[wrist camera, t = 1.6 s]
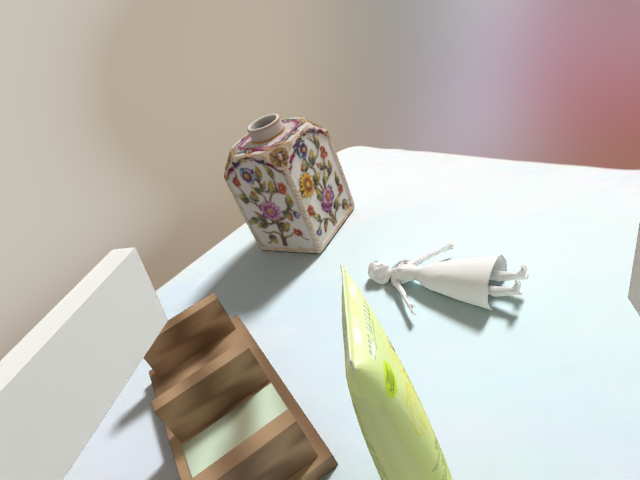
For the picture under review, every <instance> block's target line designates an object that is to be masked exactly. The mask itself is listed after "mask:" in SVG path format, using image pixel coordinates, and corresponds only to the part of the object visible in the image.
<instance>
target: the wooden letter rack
mask: <svg viewBox="0 0 640 480" xmlns="http://www.w3.org/2000/svg"><path fill="white" fill-rule="evenodd" d="M144 359H145V360H146V361H147V363H148V364H149V365H150V366H151V368H152V370H150V371H149V375H150V378H151V381H152V385H153V388H154V392H155V395H156V398H155V399H154V400H152V401H151V403H152V407H153V410H154V412H155V414H156V415H157V416H158V417H159V418H160V419H161V420H162V422H163V423H164V425H165V429H166V432H167V435H168V439H169V442H170V445H171V449H172V452H173V455H174V459H175V462H176V466H177V469H178V472H179V476H180V479H181V480H319V479H320V478H322V477H323V476H324V475H326V474H327V473H328V472H329V471H331V470H332V469H333V468H334V467H336V466H337V465H338V463H337V462H336V460H335V458H334V457H333V455H332V453H331V452H330V450H329V449H328V448H327V446H326V445H325V443H324V442H323V440H322V439H321V437H320V436H319V434H318V433H317V431H316V430H315V428H314V427H313V425H312V424H311V423H310V421H309V420H308V418H307V417H306V415H305V414H304V412H303V411H302V409H301V408H300V406H299V405H298V403H297V402H296V400H295V399H294V398H293V396H292V395H291V393H290V392H289V390H288V389H287V387H286V386H285V384H284V383H283V381H282V380H281V378H280V377H279V375H278V374H277V373H276V371H275V370H274V368H273V367H272V365H271V364H270V362H269V361H268V359H267V358H266V356H265V355H264V353H263V352H262V350H261V349H260V348H259V346H258V345H257V343H256V342H255V340H254V339H253V337H252V336H251V334H250V333H249V331H248V330H247V328H246V327H245V325H244V324H243V323H242V321H241V320H240V318H239V317H238V315H236V316H234V317H233V318H231V319H230V318H229V316H228V315H227V313H226V311H225V310H224V308H223V307H222V305H221V303H220V302H219V300H218V299H217V297H216V296H215V294H214V292H213V293H212V294H210V295H209V296H207V297H205V298H204V299H202V300H201V301H199V302H197V303H196V304H194V305H193V306H191V307H189V308H188V309H186V310H184V311H183V312H181V313H180V314H178V315H176V316H175V317H173V318H172V319H170V320H168V321H167V323H166V324H165V326H164V327H163V329H162V330H161V332H160V333H159V335H158V336H157V338H156V339H155V341H154V342H153V344H152V345H151V347H150V348H149V350H148V352H147V353H146V355H145V356H144Z"/></svg>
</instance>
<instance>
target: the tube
mask: <svg viewBox="0 0 640 480" xmlns="http://www.w3.org/2000/svg"><path fill="white" fill-rule="evenodd" d="M340 266H341V271H342V281H343V283H342V324H343V338H344V350H345V367H346V378H347V383H348V388H349V391H350V395H351V399H352V403H353V406H354V410H355V413H356V416H357V419H358V422H359V425H360V428H361V431H362V433H363V436H364V439H365V441H366V444H367V446H368V449H369V452H370V454H371V456H372V459H373V461H374V464H375V466H376V468H377V471H378V473H379V475H380V477H381V480H452V477H451V474H450V471H449V468H448V466H447V463H446V460H445V458H444V455H443V453H442V450H441V448H440V445H439V443H438V440H437V438H436V436H435V433H434V431H433V429H432V426H431V424H430V421H429V419H428V417H427V415H426V413H425V410H424V408H423V406H422V404H421V402H420V400H419V398H418V396H417V393H416V391H415V389H414V387H413V385H412V383H411V381H410V379H409V377H408V375H407V373H406V371H405V369H404V367H403V365H402V363H401V361H400V359H399V358H398V356H397V354H396V352H395V350H394V348H393V347H392V345H391V343H390V341H389V339H388V337H387V335H386V334H385V332H384V330H383V328H382V326H381V325H380V323H379V321H378V319H377V317H376V316H375V314H374V312H373V311H372V309H371V307H370V306H369V304H368V302H367V301H366V299H365V297H364V296H363V294H362V293H361V291H360V290H359V288H358V287H357V285H356V284H355V282H354V281H353V280H352V278H351V277H350V276H349V274H348V273H347V272H346V270H345V268H344V266H343V264H341V265H340Z"/></svg>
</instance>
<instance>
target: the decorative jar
mask: <svg viewBox="0 0 640 480" xmlns="http://www.w3.org/2000/svg"><path fill="white" fill-rule="evenodd" d="M247 130H248V133H247V134H246V135H245V136H244V137H242V138H241V139H240V140H238V141H237V142H236V143H235V144H234V145H233V146H232V147H231V149H230V153H229V157H228V160H227V164H226V167H225V173H224V178H225V181H226V182H227V185H228V187H229V189H230V190H231V192H232V194H233V196H234V198H235V201H236V203H237V205H238V206H239V208H240V210H241V213H242V215H243V216H244V219H245V221H246V223H247V225H248V226H249V228H250V230H251V232H252V234H253V236H254V238H255V239H256V241H257V243H258V245H259V247H260V249H261V250H271V251H285V252H298V253H322V251H323V250H324V249H325V247H326V246H327V244H328V243H329V242H330V240H331V239H332V238H333V236H334V235H335V233H336V232H337V231H338V229H339V228H340V227H341V225H342V224H343V223H344V221H345V220H346V218H347V217H348V216H349V214H350V213H351V212H352V210H353V209H354V202H353V199H352V196H351V193H350V190H349V187H348V184H347V181H346V178H345V176H344V173H343V170H342V167H341V165H340V162H339V159H338V156H337V154H336V151H335V149H334V146H333V143H332V141H331V138H330V135H329V133H328V131H327V130H326V129H324V128H323V127H321V126H319V125H317V124H316V123H313V122H311V121H309V120H307V119H305V118H303V117H296V118H288V119H281V118H280V116H279V115H277V114H269V115H266V116H264V117H261V118H259V119H257V120H255V121H254V122H253V123H251V124H250V125H249V126H248V129H247Z"/></svg>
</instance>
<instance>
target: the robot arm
mask: <svg viewBox="0 0 640 480" xmlns="http://www.w3.org/2000/svg"><path fill="white" fill-rule="evenodd" d="M628 298H629V300H630V301H631V303H632V305H633V306H634V308H635V309H636V311H637V312H638V314H639V315H640V224H639V231H638V237H637V243H636V250H635V256H634V262H633V268H632V275H631V281H630V287H629V294H628ZM167 321H168V319H167V317H166V314H165V312H164V310H163V308H162V306H161V303H160V301H159V299H158V297H157V295H156V292H155V290H154V288H153V286H152V284H151V282H150V279H149V277H148V275H147V273H146V270H145V268H144V266H143V264H142V262H141V259H140V257H139V255H138V253H137V251H136V248H124V249H113V250H112V251H111V252H110V253H109V254H108V255H107V256H106V257H105V258H104V259H103V260H102V261H100V262H99V263H98V265H96V266H95V268H93V269H92V270H91V271H90V272H89V273H88V274H87V276H85V277H84V278H83V279H82V280H81V281H80V282H79V283H78V285H76V287H74V288H73V289H72V290H71V291H70V293H68V294H67V295H66V296H65V297H64V298H63V300H61V301H60V302H59V303H58V304H57V305H56V306H55V307H54V308H53V309H52V310H51V311H50V312H49V313H48V314H47V315H46V316H45V317H44V318H43V319H42V320H41V321H40V322H39V323H38V324H37V325H36V326H35V327H34V328H33V329H32V330H31V331H30V332H29V333H28V334H27V335H26V336H25V337H24V338H23V339H22V340H21V341H20V342H19V343H18V344H17V345H16V346H15V347H14V348H13V349H12V350H11V351H10V352H9V353H8V354H7V355H6V356H5V357H4V358H3V359H2V360H1V361H0V480H63V479H64V478H65V476H66V474H67V473H68V471H69V470H70V468H71V467H72V465H73V464H74V462H75V461H76V459H77V458H78V456H79V455H80V453H81V452H82V450H83V449H84V447H85V446H86V444H87V443H88V441H89V440H90V438H91V437H92V435H93V433H94V432H95V430H96V429H97V427H98V426H99V424H100V423H101V421H102V420H103V418H104V417H105V415H106V414H107V412H108V411H109V409H110V408H111V406H112V405H113V403H114V402H115V400H116V399H117V397H118V396H119V394H120V393H121V391H122V389H123V388H124V386H125V385H126V383H127V382H128V380H129V379H130V377H131V376H132V374H133V373H134V371H135V370H136V368H137V367H138V365H139V364H140V362H141V361H142V359H143V358H144V356H145V355H146V353H147V352H148V350H149V348H150V347H151V345H152V344H153V342H154V341H155V339H156V338H157V336H158V335H159V333H160V332H161V330H162V329H163V327H164V326H165V324H166V323H167Z"/></svg>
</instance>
